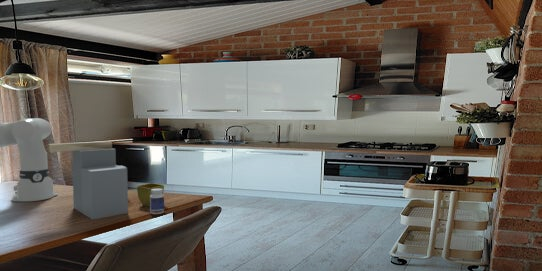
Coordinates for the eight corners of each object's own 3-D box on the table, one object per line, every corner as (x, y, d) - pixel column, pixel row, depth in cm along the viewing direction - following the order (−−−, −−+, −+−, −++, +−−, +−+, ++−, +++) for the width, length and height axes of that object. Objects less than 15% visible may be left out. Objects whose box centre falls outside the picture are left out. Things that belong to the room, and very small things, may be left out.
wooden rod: (48, 151, 148) (47, 144, 148) (108, 147, 165) (108, 141, 164) (50, 152, 145) (50, 144, 145) (111, 148, 162) (111, 141, 162)
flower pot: (165, 204, 167) (164, 184, 166) (149, 208, 159) (149, 188, 159) (151, 201, 171) (151, 182, 171) (136, 205, 164) (136, 186, 163)
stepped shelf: (73, 208, 159) (71, 149, 158) (106, 202, 169) (105, 147, 168) (92, 219, 142) (90, 153, 141) (128, 212, 152) (126, 151, 150)
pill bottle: (166, 212, 153) (166, 189, 152) (154, 215, 148) (154, 191, 148) (159, 210, 157) (159, 187, 156) (147, 212, 152) (146, 189, 152)
